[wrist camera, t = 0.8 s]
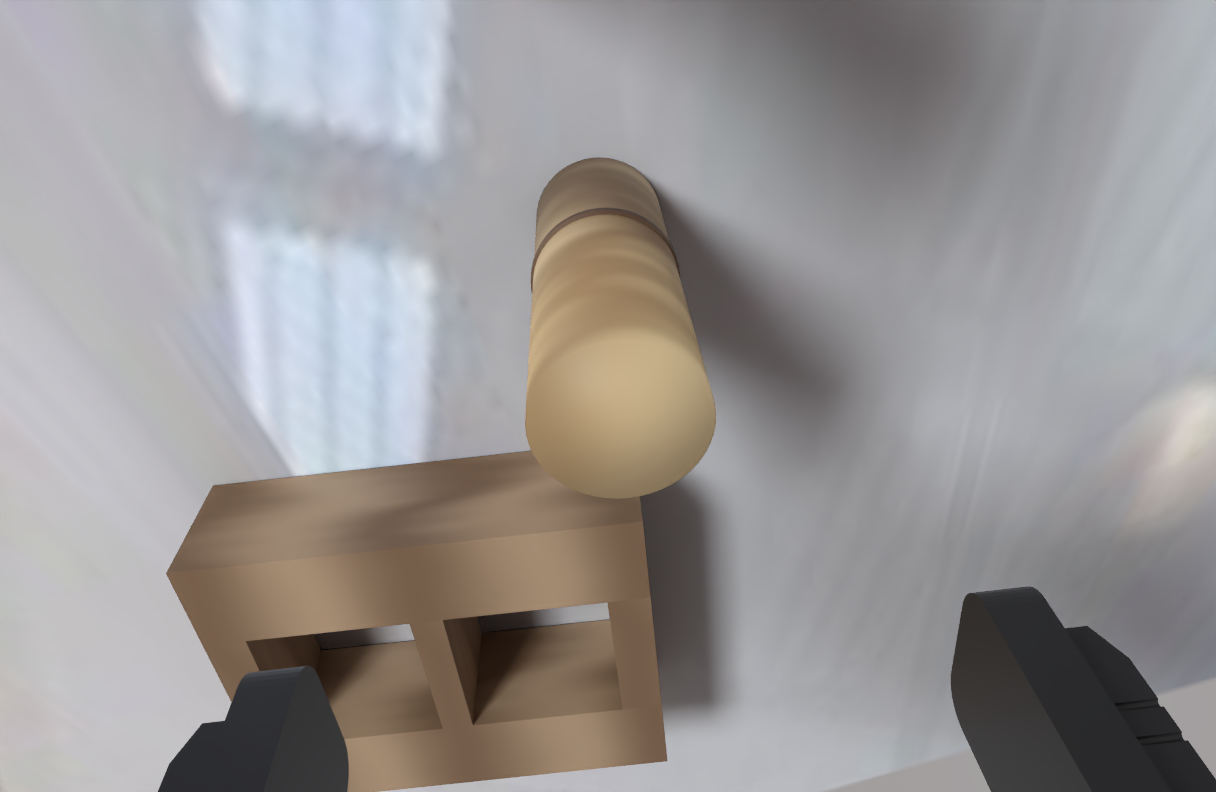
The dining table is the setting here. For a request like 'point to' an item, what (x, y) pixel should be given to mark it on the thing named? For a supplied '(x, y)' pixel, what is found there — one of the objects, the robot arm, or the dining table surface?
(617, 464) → the peg
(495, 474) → the board
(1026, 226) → the dining table surface
